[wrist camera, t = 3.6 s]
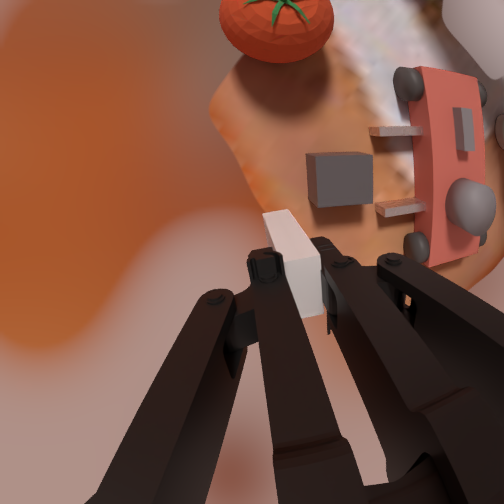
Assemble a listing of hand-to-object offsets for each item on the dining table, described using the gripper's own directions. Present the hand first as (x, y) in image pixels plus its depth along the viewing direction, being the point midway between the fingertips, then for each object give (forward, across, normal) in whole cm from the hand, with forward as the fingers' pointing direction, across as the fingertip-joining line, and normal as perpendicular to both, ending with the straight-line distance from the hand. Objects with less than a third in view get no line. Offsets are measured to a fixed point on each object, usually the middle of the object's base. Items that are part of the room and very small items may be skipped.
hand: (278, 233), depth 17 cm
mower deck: (+14, +24, 0) cm, 28 cm away
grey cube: (+14, +8, 0) cm, 16 cm away
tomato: (+14, +4, +17) cm, 23 cm away
